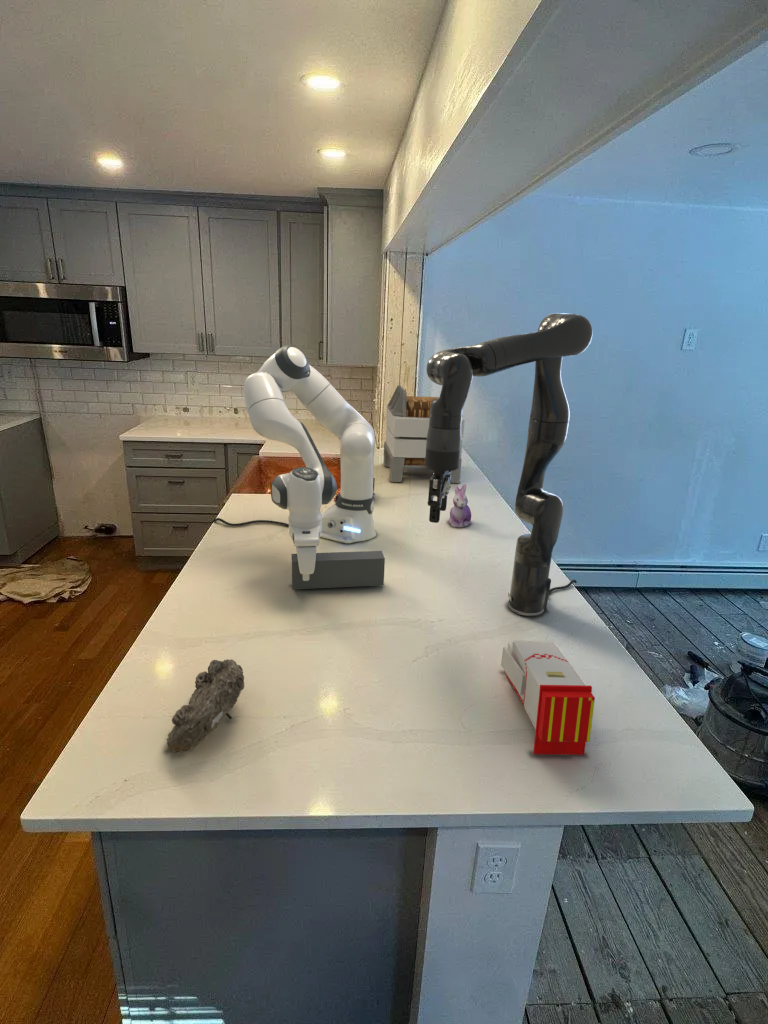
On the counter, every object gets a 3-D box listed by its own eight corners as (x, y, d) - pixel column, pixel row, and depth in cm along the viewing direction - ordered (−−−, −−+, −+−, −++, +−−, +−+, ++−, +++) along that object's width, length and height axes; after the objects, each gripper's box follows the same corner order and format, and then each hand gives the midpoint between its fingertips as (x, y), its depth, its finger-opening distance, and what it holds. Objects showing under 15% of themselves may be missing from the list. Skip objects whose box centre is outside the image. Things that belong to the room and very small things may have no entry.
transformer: (382, 463, 289) (386, 382, 275) (445, 464, 293) (451, 384, 279) (390, 482, 257) (394, 392, 243) (460, 483, 261) (468, 394, 247)
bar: (292, 589, 156) (291, 561, 153) (291, 580, 160) (291, 553, 158) (383, 585, 160) (384, 558, 157) (380, 577, 165) (381, 550, 162)
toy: (549, 624, 127) (604, 693, 98) (544, 678, 130) (596, 762, 100) (496, 622, 127) (535, 692, 97) (491, 677, 129) (528, 761, 100)
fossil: (192, 660, 117) (244, 628, 112) (224, 691, 120) (276, 661, 115) (142, 746, 98) (202, 712, 93) (182, 779, 101) (242, 748, 96)
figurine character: (374, 507, 229) (374, 492, 242) (375, 490, 225) (375, 475, 239) (358, 507, 228) (358, 491, 242) (358, 490, 225) (359, 475, 238)
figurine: (457, 529, 205) (460, 490, 200) (441, 520, 214) (444, 482, 209) (478, 526, 210) (482, 487, 205) (462, 517, 218) (465, 480, 213)
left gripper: (292, 514, 162) (293, 558, 167) (294, 543, 143) (294, 591, 148) (314, 514, 163) (314, 558, 168) (319, 542, 144) (319, 590, 149)
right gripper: (455, 455, 117) (448, 528, 122) (465, 441, 130) (458, 508, 135) (419, 451, 119) (414, 524, 124) (432, 438, 131) (428, 504, 137)
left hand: (305, 574), depth 157 cm, fingers closed on bar, 5 cm apart
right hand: (437, 515), depth 130 cm, fingers open, 8 cm apart
